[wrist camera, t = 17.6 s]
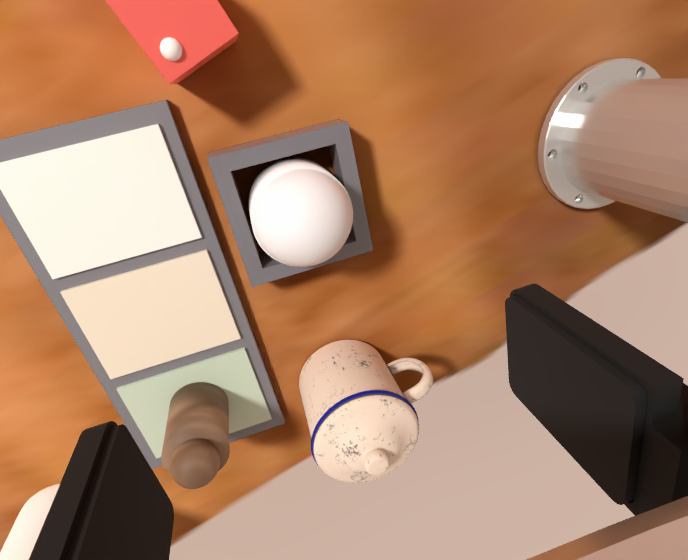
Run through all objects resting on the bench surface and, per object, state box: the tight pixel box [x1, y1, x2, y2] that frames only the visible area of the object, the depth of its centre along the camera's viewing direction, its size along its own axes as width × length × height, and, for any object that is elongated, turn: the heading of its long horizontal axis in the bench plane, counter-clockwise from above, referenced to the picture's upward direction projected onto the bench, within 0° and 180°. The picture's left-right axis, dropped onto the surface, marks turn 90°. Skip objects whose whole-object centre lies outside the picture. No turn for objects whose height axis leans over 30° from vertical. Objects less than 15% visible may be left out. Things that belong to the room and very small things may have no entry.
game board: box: [0, 100, 285, 469], centre depth 35 cm, size 13×30×1 cm, turn 13°
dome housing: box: [207, 119, 373, 287], centre depth 34 cm, size 10×10×3 cm
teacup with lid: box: [299, 340, 433, 483], centre depth 38 cm, size 12×9×12 cm
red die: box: [105, 0, 239, 84], centre depth 26 cm, size 5×5×6 cm
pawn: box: [161, 382, 229, 489], centre depth 35 cm, size 5×5×9 cm
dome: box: [248, 157, 353, 267], centre depth 30 cm, size 7×7×7 cm
